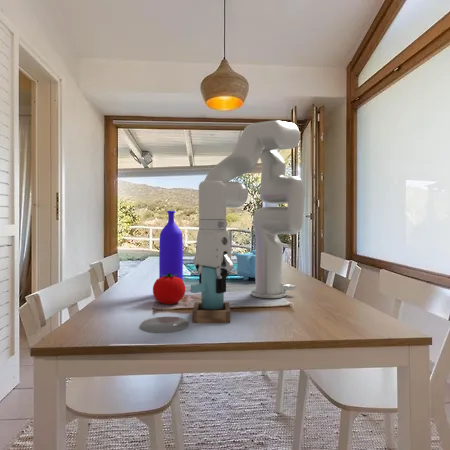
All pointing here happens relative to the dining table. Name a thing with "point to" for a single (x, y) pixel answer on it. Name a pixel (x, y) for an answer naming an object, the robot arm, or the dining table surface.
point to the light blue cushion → (246, 265)
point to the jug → (209, 289)
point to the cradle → (211, 314)
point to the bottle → (171, 249)
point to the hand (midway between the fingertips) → (212, 290)
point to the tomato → (169, 289)
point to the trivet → (164, 324)
